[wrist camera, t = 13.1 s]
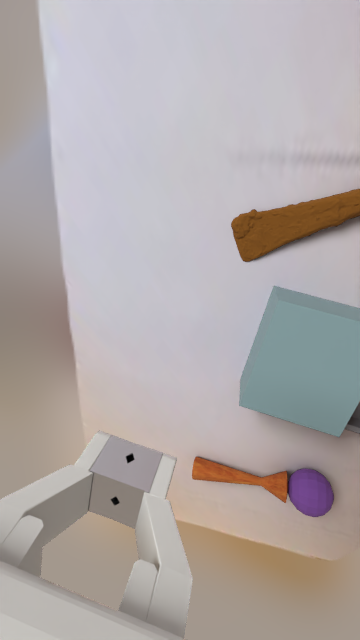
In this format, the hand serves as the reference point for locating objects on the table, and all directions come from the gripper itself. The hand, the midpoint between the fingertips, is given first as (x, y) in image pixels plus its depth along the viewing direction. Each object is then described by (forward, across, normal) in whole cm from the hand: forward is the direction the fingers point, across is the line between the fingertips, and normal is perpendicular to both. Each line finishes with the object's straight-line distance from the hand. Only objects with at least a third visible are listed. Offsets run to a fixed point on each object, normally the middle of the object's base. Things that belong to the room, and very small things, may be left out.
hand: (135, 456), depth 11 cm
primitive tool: (+30, -9, -10) cm, 33 cm away
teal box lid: (+29, -13, +6) cm, 32 cm away
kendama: (+30, -14, +28) cm, 43 cm away
